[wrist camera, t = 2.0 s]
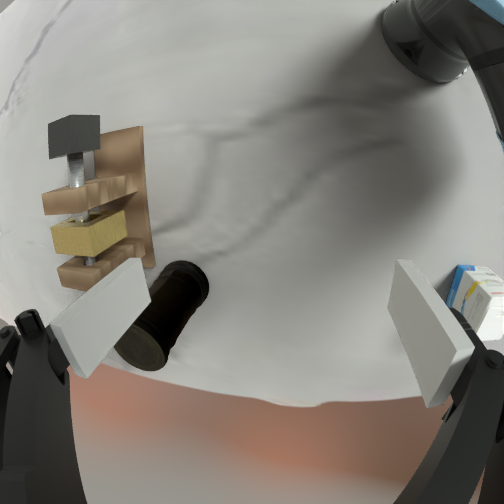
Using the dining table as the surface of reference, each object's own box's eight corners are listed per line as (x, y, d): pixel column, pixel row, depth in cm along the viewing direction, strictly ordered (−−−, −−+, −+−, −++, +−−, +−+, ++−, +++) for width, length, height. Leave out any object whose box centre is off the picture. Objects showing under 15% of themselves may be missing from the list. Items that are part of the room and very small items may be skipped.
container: (161, 296, 49) (111, 359, 32) (164, 253, 45) (102, 309, 29) (206, 310, 48) (167, 383, 32) (213, 267, 44) (167, 335, 28)
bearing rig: (97, 135, 39) (33, 142, 25) (142, 126, 37) (78, 125, 23) (112, 261, 48) (62, 299, 34) (155, 265, 46) (108, 310, 32)
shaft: (76, 122, 30) (48, 123, 25) (99, 115, 30) (70, 114, 24) (96, 273, 39) (73, 290, 34) (118, 276, 39) (96, 295, 33)
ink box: (443, 305, 40) (469, 344, 29) (457, 263, 37) (491, 296, 26) (474, 305, 39) (501, 340, 28) (488, 266, 36) (521, 297, 25)
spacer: (85, 211, 38) (50, 227, 30) (124, 209, 37) (88, 227, 29) (89, 234, 40) (56, 253, 32) (127, 235, 38) (94, 256, 31)
